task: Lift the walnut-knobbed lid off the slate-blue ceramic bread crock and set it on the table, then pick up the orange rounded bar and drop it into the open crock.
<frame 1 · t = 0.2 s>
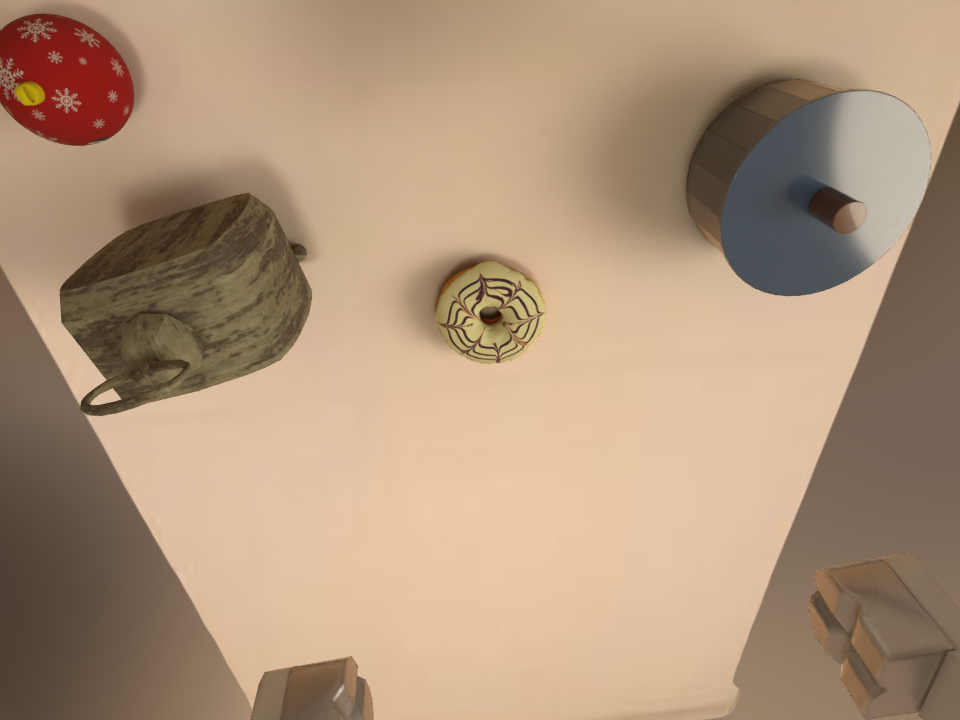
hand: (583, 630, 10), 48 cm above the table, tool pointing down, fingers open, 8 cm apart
decorated donut: (488, 303, 61), on the table
christmas ornament: (93, 73, 47), on the table
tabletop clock: (232, 237, 55), on the table
crock: (769, 171, 56), on the table
crock lid: (820, 200, 49), point 8 cm above the table, touching crock
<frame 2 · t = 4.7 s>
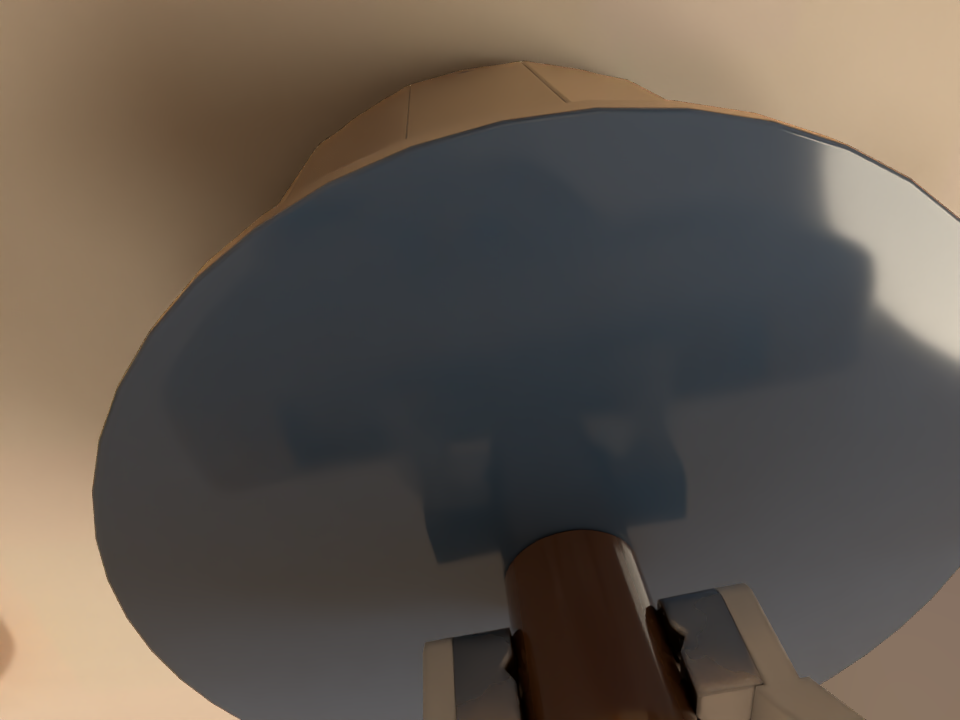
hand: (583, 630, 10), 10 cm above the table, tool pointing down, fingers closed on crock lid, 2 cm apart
crock: (510, 333, 19), on the table
crock lid: (564, 548, 12), point 9 cm above the table, touching crock, gripper
when the fingers open (2 cm above the table, at t = 12.5 s): crock lid stays where it is, point 1 cm above the table.
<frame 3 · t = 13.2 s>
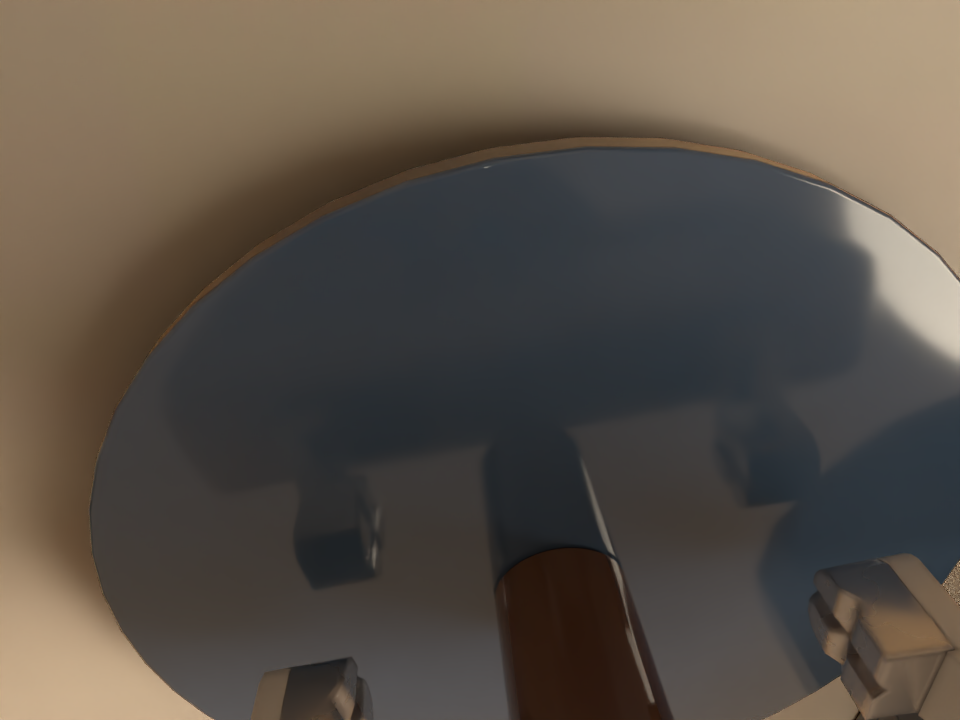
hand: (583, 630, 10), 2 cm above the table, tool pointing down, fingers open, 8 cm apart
crock lid: (554, 564, 12), point 1 cm above the table
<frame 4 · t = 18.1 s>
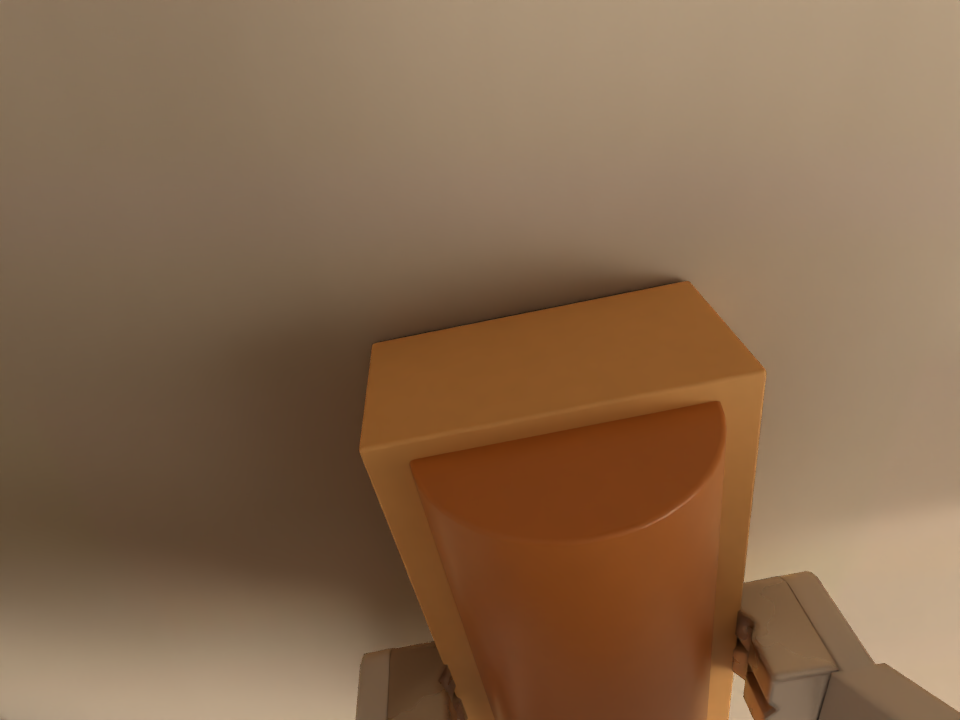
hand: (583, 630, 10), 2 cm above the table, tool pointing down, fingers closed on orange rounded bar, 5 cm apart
orange rounded bar: (565, 548, 12), on the table, touching gripper
when the fingers open (2 cm above the table, at t = 26.4 s): orange rounded bar stays where it is, resting on crock.
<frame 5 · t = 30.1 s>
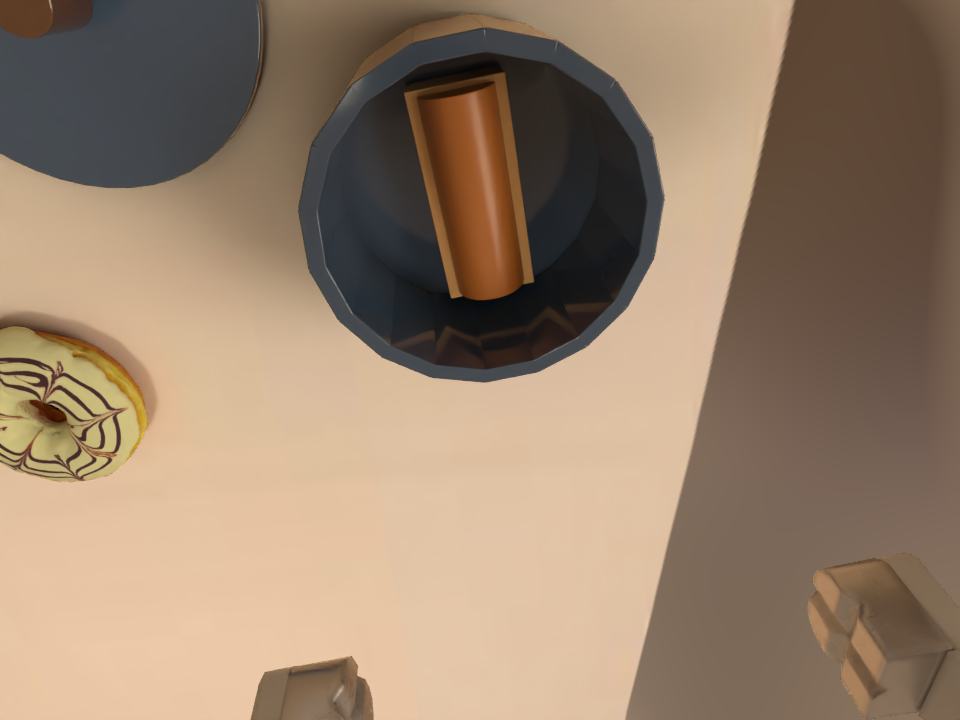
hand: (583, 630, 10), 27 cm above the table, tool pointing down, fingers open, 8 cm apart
orange rounded bar: (471, 182, 33), resting on crock
decorated donut: (67, 387, 38), on the table
crock: (471, 177, 33), on the table
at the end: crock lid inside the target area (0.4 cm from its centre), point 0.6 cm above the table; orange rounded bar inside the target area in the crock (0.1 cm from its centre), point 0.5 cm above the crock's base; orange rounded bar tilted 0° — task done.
